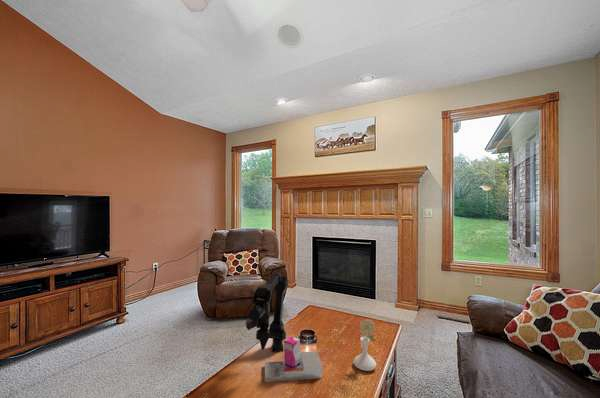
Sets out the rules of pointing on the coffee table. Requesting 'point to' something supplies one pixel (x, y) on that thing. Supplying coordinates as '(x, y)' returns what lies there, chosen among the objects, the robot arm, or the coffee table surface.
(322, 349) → the coffee table surface
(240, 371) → the coffee table surface
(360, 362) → the flower in vase
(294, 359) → the supplement box
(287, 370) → the step stand
